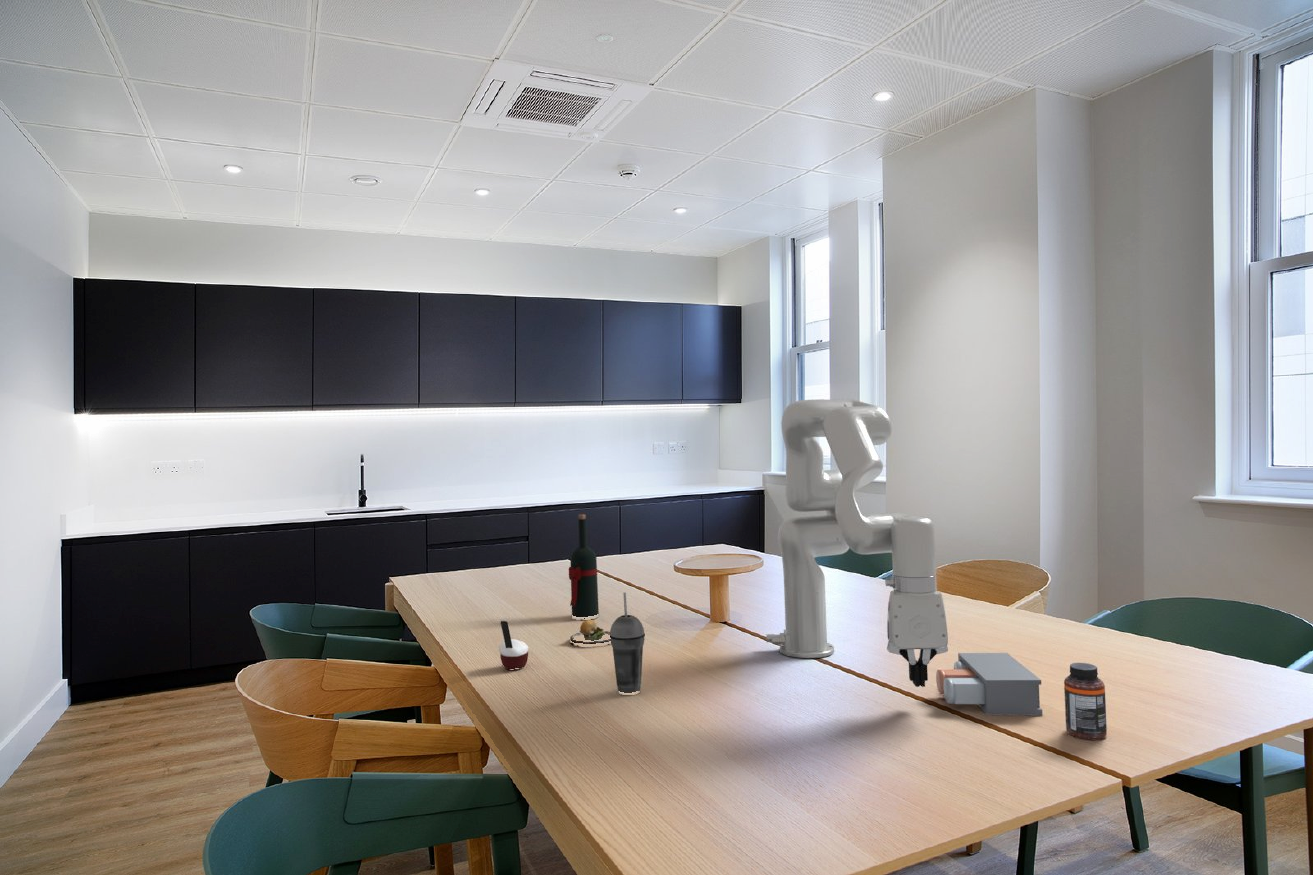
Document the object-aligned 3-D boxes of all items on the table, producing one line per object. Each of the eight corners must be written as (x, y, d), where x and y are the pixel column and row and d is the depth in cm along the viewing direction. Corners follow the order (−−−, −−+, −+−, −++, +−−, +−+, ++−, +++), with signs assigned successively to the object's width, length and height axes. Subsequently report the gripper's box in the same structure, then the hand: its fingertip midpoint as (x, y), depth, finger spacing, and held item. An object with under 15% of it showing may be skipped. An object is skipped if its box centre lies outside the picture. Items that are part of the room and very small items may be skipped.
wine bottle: (561, 620, 228) (558, 516, 228) (582, 613, 237) (579, 513, 237) (583, 623, 224) (580, 517, 224) (604, 615, 233) (600, 513, 233)
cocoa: (518, 661, 186) (517, 610, 186) (538, 665, 182) (536, 613, 182) (488, 672, 178) (486, 618, 178) (507, 676, 175) (505, 621, 175)
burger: (622, 645, 199) (621, 615, 199) (577, 651, 195) (576, 620, 195) (608, 635, 211) (607, 606, 211) (564, 640, 206) (563, 611, 206)
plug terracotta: (942, 697, 148) (941, 673, 148) (936, 689, 152) (935, 666, 153) (992, 697, 147) (991, 673, 147) (985, 689, 152) (984, 666, 152)
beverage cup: (615, 699, 156) (612, 598, 156) (607, 689, 163) (604, 591, 163) (651, 695, 158) (647, 595, 158) (642, 685, 165) (638, 589, 165)
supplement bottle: (1070, 725, 135) (1068, 658, 135) (1110, 732, 131) (1107, 663, 131) (1062, 736, 130) (1059, 667, 130) (1103, 744, 126) (1100, 672, 126)
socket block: (987, 715, 141) (986, 680, 141) (959, 684, 159) (958, 653, 159) (1042, 715, 140) (1041, 680, 140) (1008, 684, 158) (1006, 652, 158)
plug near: (950, 707, 143) (949, 682, 143) (943, 699, 147) (943, 675, 147) (1002, 707, 142) (1001, 682, 142) (994, 699, 146) (993, 675, 146)
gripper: (876, 589, 143) (880, 691, 143) (962, 587, 141) (966, 690, 141) (869, 581, 150) (873, 679, 150) (951, 580, 149) (955, 678, 149)
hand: (918, 684), depth 146 cm, fingers closed
